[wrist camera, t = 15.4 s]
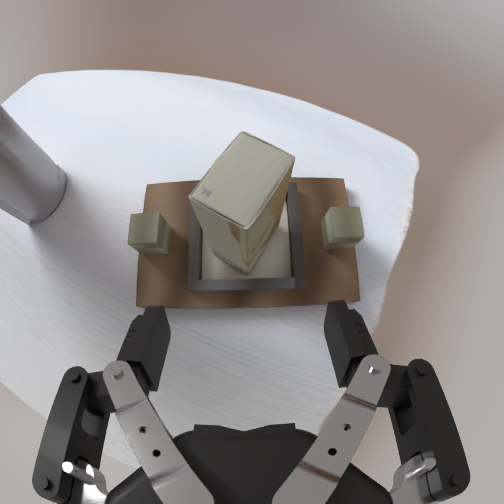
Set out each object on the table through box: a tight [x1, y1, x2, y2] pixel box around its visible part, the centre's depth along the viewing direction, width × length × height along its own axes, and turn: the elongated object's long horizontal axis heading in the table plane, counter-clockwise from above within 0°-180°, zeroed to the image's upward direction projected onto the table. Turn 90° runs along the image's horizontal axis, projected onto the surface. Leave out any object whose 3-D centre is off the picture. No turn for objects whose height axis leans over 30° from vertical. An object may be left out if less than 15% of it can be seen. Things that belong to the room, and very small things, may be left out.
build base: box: [128, 177, 364, 308], centre depth 27 cm, size 23×14×6 cm, turn 92°
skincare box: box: [189, 132, 295, 274], centre depth 22 cm, size 6×4×12 cm
